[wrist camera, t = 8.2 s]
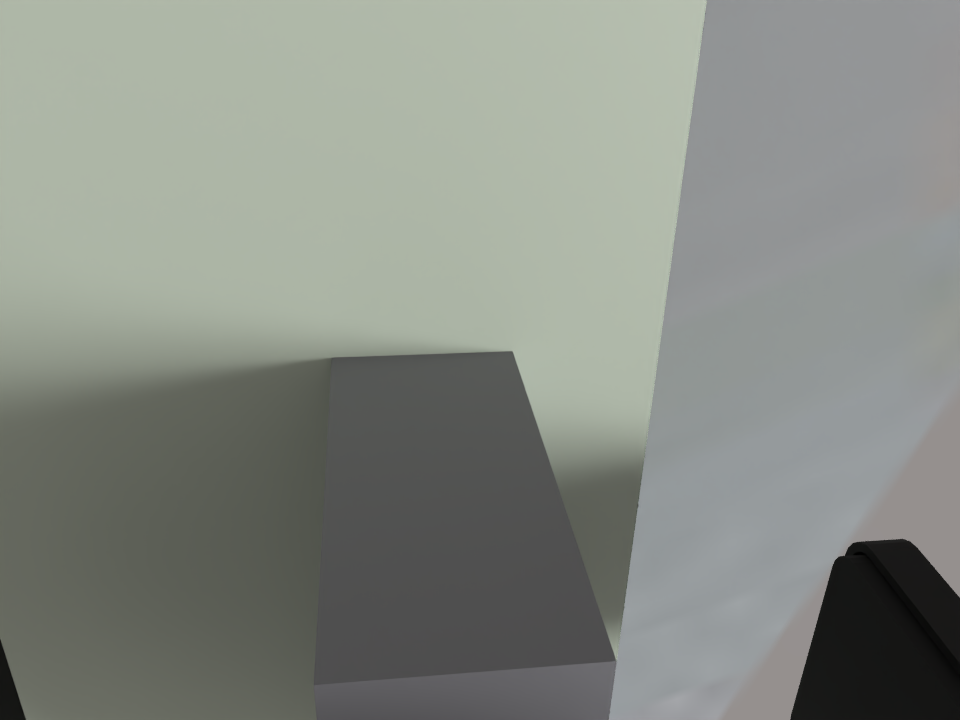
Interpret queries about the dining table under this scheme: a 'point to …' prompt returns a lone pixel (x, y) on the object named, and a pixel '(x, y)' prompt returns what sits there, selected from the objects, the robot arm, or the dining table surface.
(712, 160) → the dining table surface
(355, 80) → the lid
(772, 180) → the dining table surface
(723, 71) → the dining table surface
